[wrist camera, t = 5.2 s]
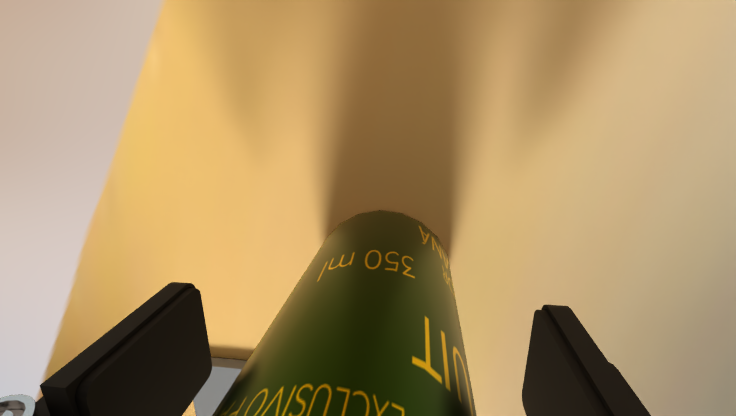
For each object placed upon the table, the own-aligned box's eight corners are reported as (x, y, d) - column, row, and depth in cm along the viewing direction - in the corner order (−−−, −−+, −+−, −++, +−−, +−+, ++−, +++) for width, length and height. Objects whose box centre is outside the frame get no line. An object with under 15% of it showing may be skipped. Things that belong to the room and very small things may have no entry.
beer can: (350, 333, 17) (206, 830, 5) (303, 228, 16) (-8, 583, 4) (465, 303, 16) (593, 860, 4) (424, 187, 14) (447, 527, 3)
